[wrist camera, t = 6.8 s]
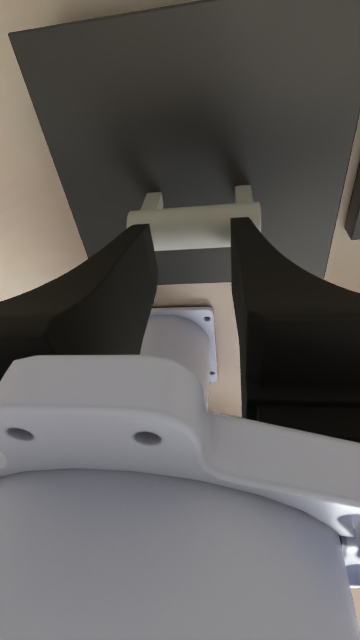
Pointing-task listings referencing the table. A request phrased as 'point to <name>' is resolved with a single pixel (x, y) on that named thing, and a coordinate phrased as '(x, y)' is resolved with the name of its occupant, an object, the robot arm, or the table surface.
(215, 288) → the table surface
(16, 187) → the table surface
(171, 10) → the lid
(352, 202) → the orange push button box
